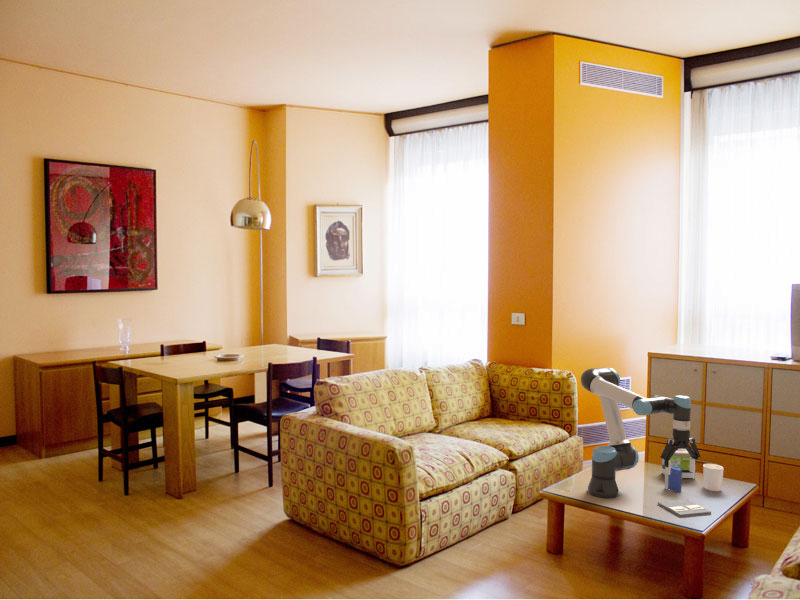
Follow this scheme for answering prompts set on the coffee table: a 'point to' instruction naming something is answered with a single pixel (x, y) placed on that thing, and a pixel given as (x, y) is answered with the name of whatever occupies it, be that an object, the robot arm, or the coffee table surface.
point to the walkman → (674, 479)
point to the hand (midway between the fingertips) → (680, 472)
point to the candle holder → (712, 477)
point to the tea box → (681, 463)
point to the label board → (684, 508)
